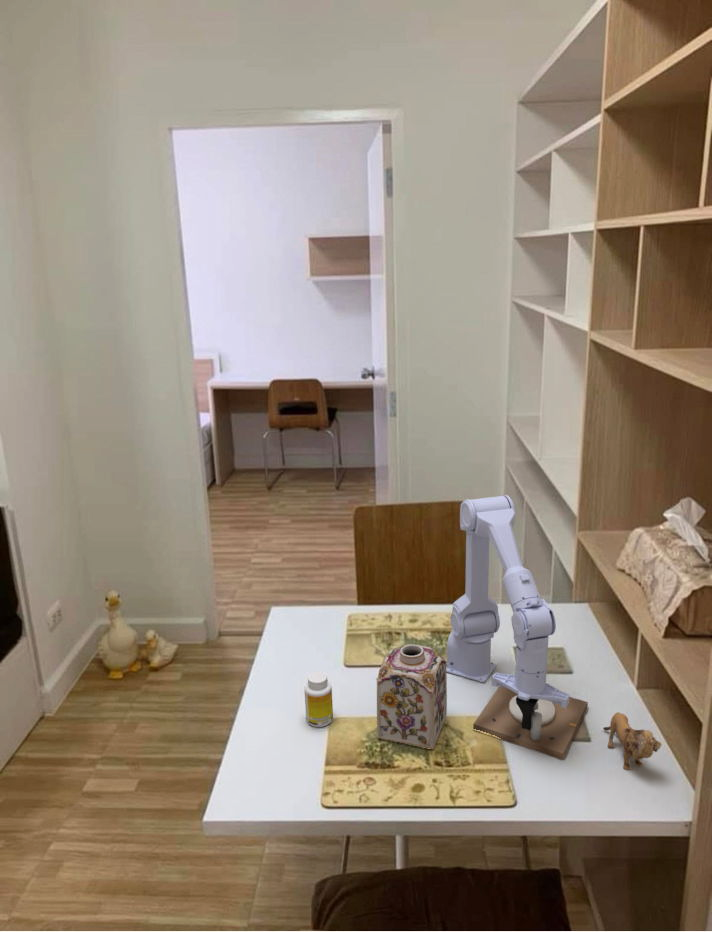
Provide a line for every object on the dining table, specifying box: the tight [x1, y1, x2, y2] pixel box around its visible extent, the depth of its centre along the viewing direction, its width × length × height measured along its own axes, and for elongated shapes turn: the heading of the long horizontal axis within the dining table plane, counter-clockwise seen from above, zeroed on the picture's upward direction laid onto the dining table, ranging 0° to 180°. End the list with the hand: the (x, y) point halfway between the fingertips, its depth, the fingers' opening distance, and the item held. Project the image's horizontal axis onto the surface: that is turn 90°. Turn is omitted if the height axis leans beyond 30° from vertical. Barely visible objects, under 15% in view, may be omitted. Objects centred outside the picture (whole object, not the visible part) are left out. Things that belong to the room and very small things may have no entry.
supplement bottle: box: [304, 671, 334, 728], centre depth 148 cm, size 6×6×10 cm
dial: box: [509, 695, 555, 741], centre depth 144 cm, size 14×9×5 cm, turn 172°
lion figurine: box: [602, 712, 663, 771], centre depth 135 cm, size 15×5×9 cm, turn 14°
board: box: [472, 686, 589, 761], centre depth 147 cm, size 18×18×2 cm
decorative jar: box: [376, 643, 448, 750], centre depth 143 cm, size 12×12×18 cm
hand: (527, 726), depth 139 cm, fingers closed, pressing on dial
